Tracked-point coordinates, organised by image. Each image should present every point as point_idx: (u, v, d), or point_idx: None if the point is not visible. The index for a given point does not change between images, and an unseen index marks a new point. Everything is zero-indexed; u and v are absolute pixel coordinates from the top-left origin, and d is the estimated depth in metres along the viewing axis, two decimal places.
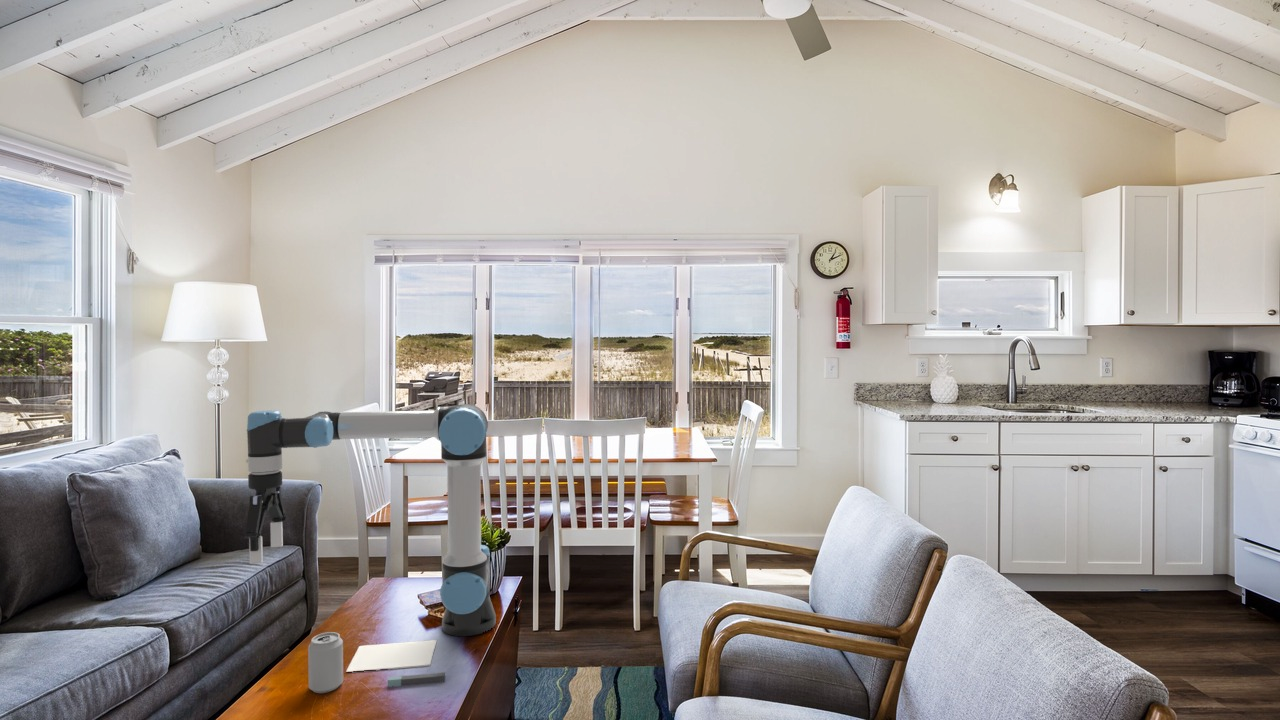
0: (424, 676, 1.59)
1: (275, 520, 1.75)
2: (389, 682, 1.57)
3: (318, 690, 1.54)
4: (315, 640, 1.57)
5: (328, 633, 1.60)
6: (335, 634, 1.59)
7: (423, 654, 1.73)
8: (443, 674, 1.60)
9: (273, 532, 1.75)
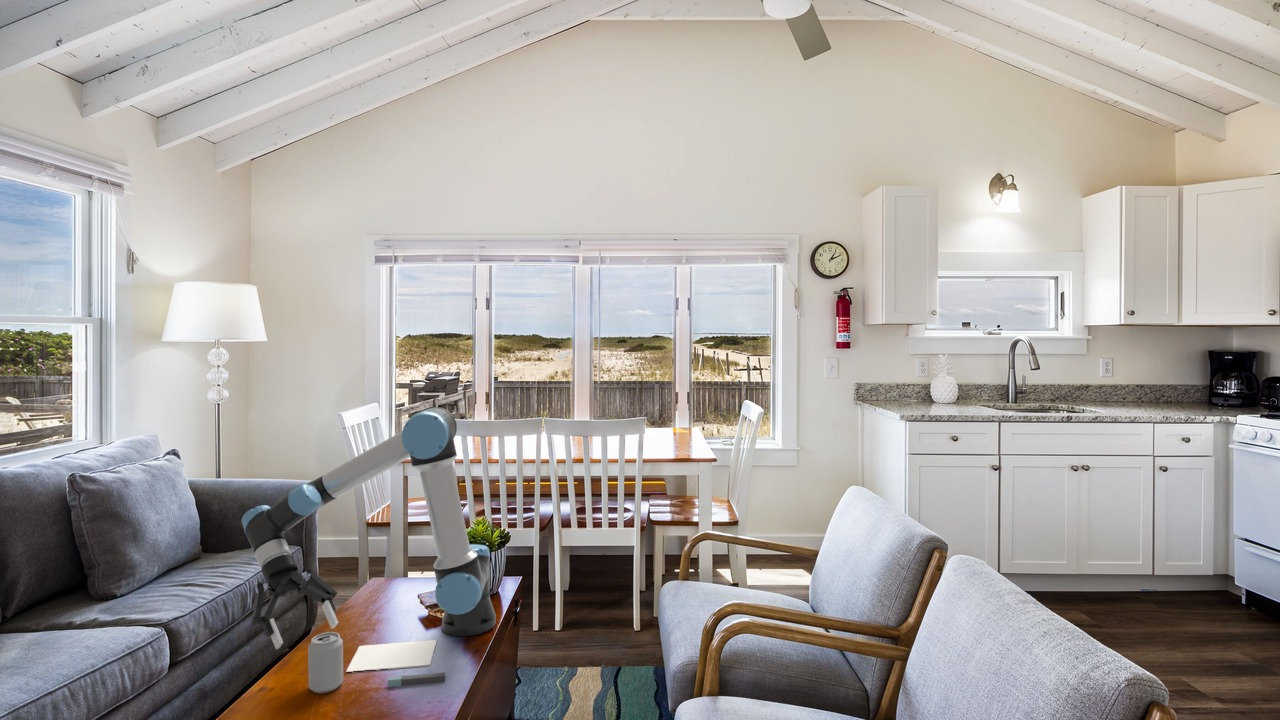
0: (424, 676, 1.59)
1: (325, 602, 1.69)
2: (389, 682, 1.57)
3: (318, 690, 1.54)
4: (315, 640, 1.57)
5: (328, 633, 1.60)
6: (335, 634, 1.59)
7: (423, 654, 1.73)
8: (443, 674, 1.60)
9: (326, 614, 1.67)
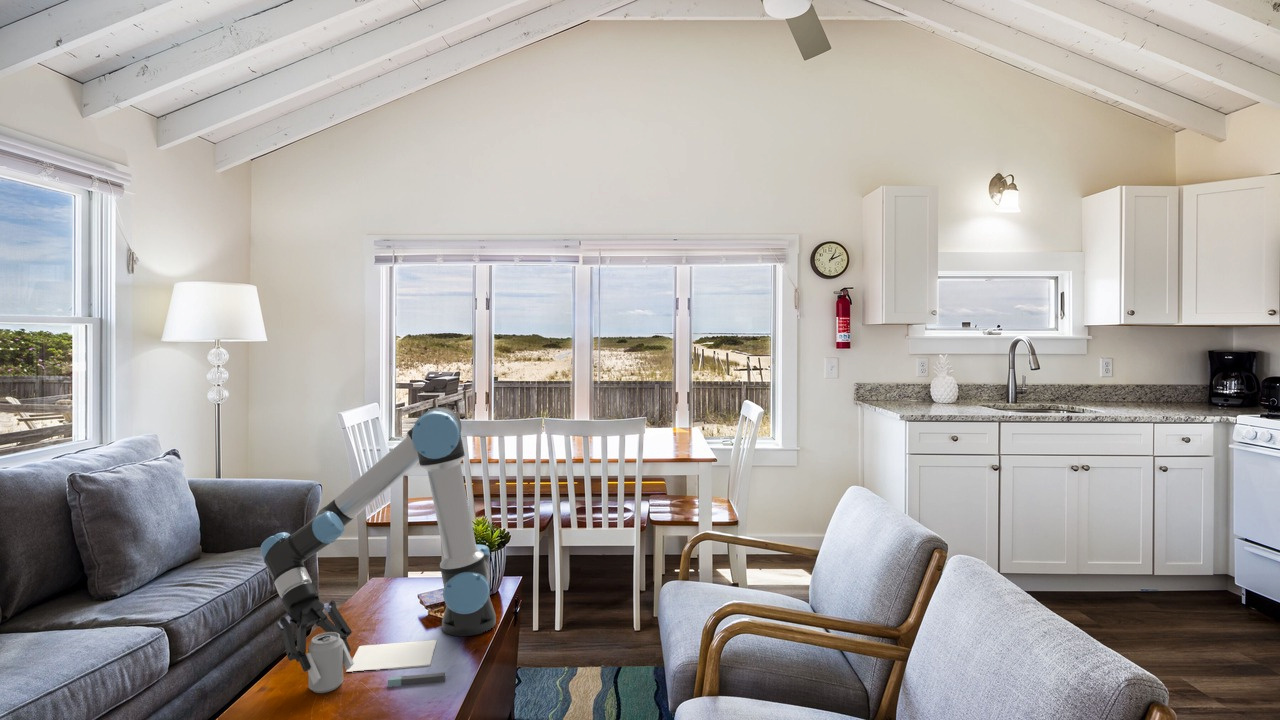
0: (424, 676, 1.59)
1: None
2: (389, 682, 1.57)
3: (318, 690, 1.54)
4: (315, 640, 1.57)
5: (328, 633, 1.60)
6: (335, 634, 1.59)
7: (423, 654, 1.73)
8: (443, 674, 1.60)
9: None
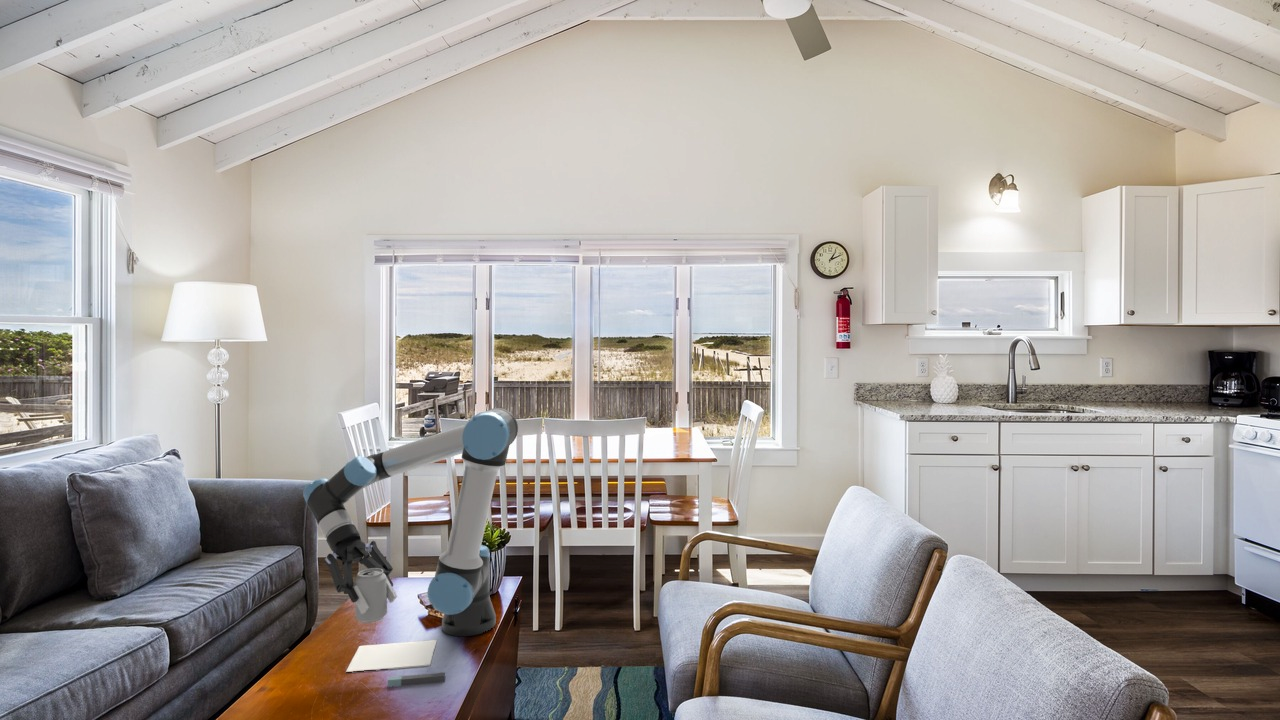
0: (424, 676, 1.59)
1: None
2: (389, 682, 1.57)
3: (365, 620, 1.64)
4: (360, 574, 1.67)
5: (372, 569, 1.70)
6: (378, 569, 1.70)
7: (423, 654, 1.73)
8: (443, 674, 1.60)
9: None
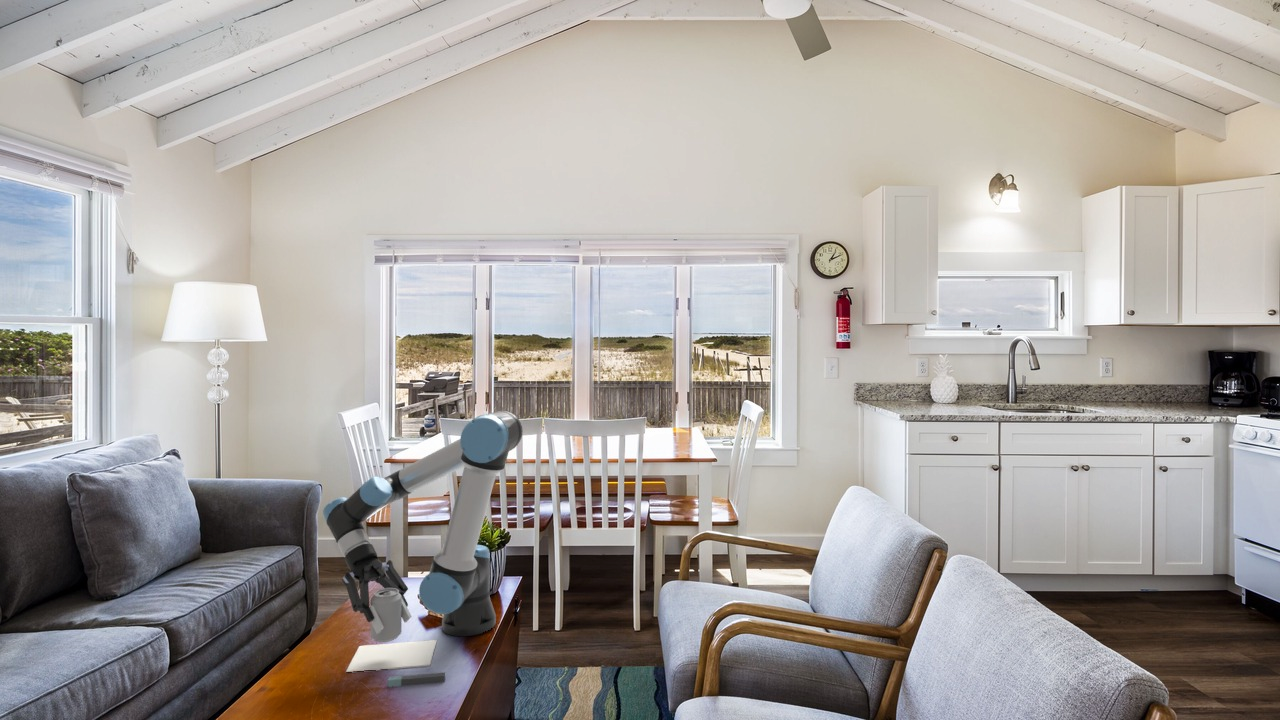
0: (424, 676, 1.59)
1: None
2: (389, 682, 1.57)
3: (380, 639, 1.68)
4: (377, 594, 1.71)
5: (387, 588, 1.74)
6: (394, 589, 1.73)
7: (423, 654, 1.73)
8: (443, 674, 1.60)
9: None
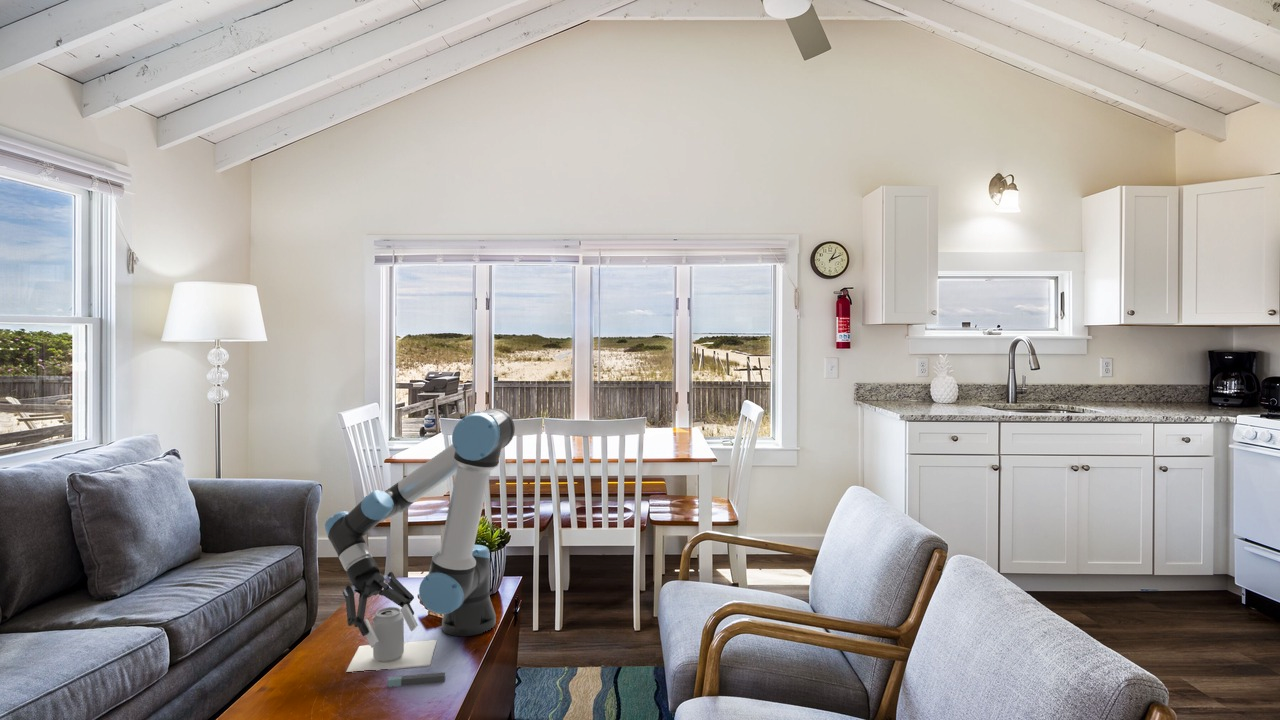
0: (424, 676, 1.59)
1: (403, 605, 1.77)
2: (389, 682, 1.57)
3: (382, 659, 1.68)
4: (379, 614, 1.71)
5: (389, 608, 1.74)
6: (396, 609, 1.73)
7: (423, 654, 1.73)
8: (443, 674, 1.60)
9: (405, 617, 1.76)
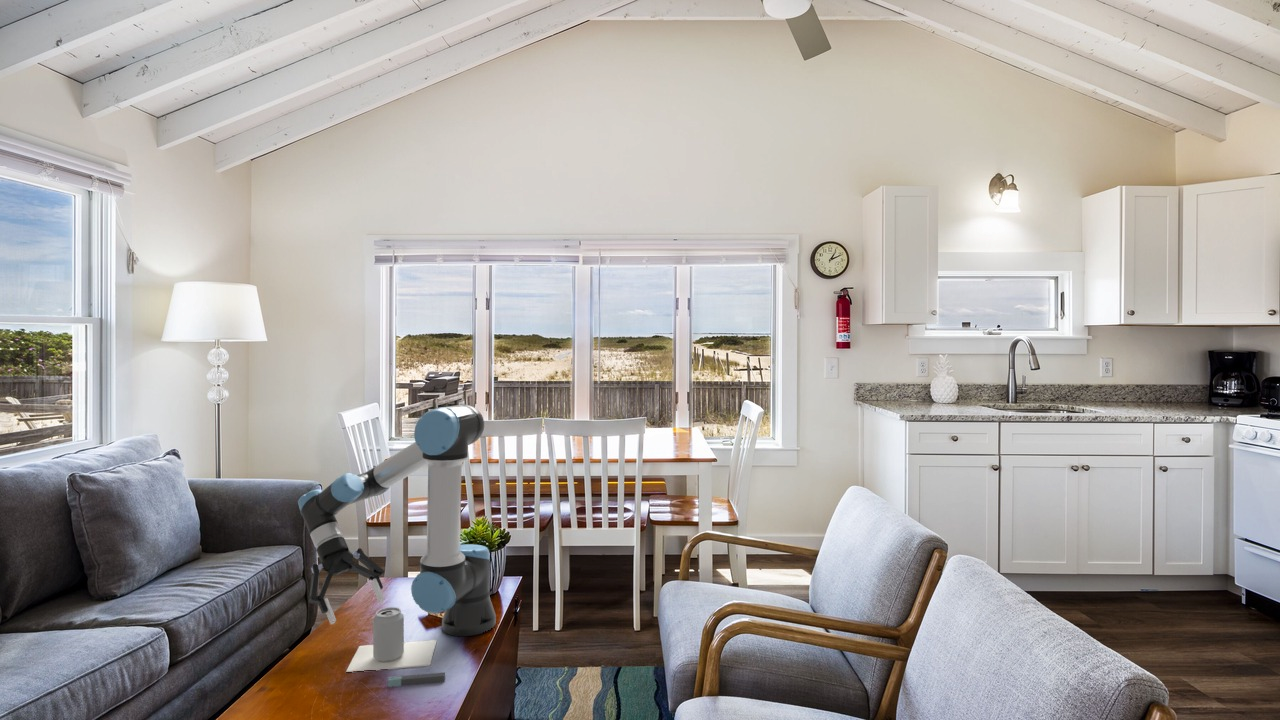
0: (424, 676, 1.59)
1: (373, 579, 1.87)
2: (389, 682, 1.57)
3: (382, 659, 1.68)
4: (379, 614, 1.71)
5: (389, 608, 1.74)
6: (396, 609, 1.73)
7: (423, 654, 1.73)
8: (443, 674, 1.60)
9: (374, 590, 1.85)
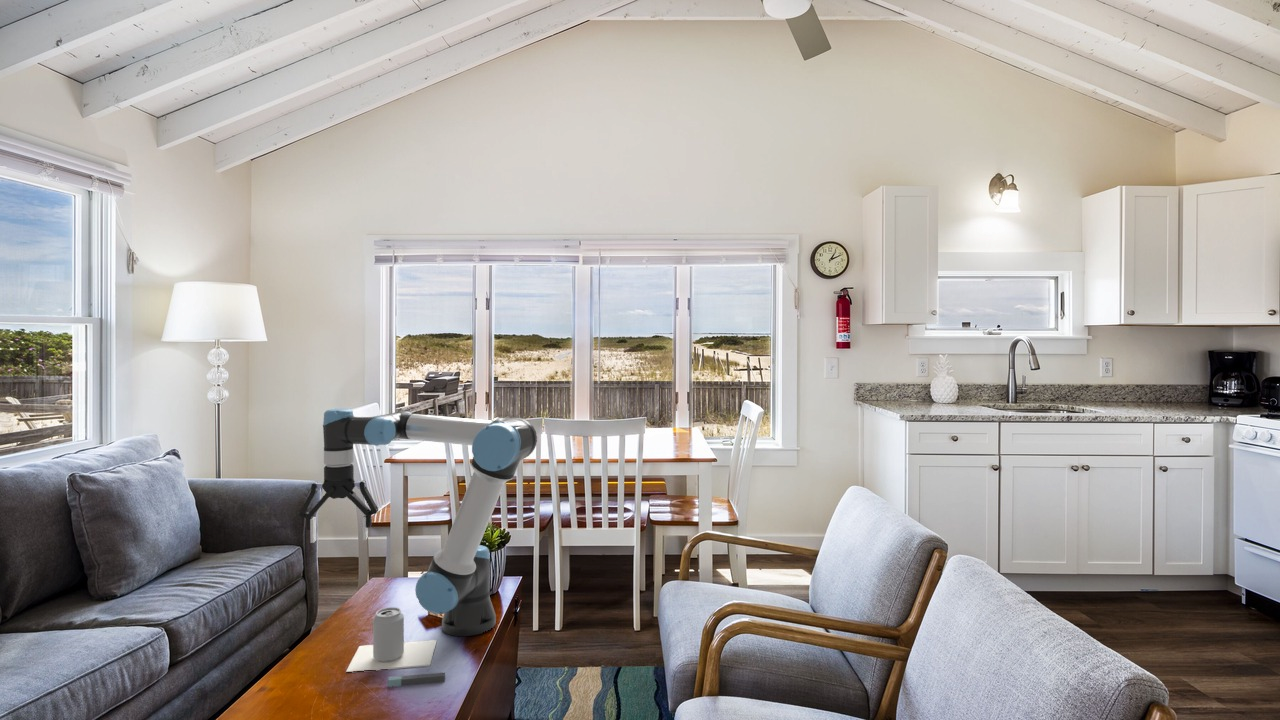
0: (424, 676, 1.59)
1: None
2: (389, 682, 1.57)
3: (382, 659, 1.68)
4: (379, 614, 1.71)
5: (389, 608, 1.74)
6: (396, 609, 1.73)
7: (423, 654, 1.73)
8: (443, 674, 1.60)
9: None
